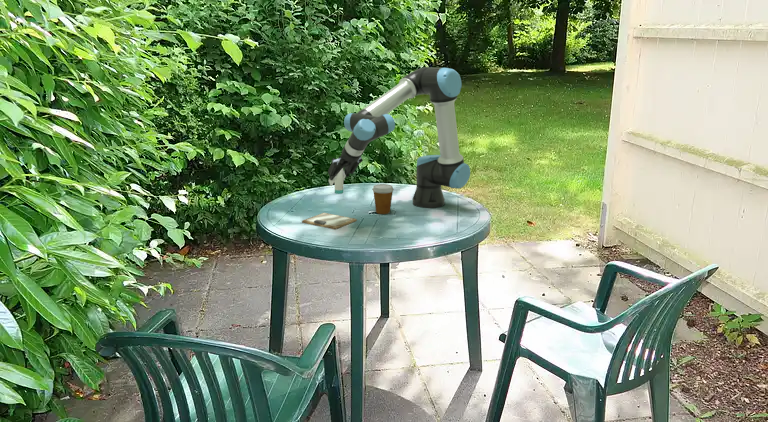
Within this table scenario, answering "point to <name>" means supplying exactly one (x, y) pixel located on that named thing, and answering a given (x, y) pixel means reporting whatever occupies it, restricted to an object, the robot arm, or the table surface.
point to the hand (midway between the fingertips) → (334, 182)
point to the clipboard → (329, 221)
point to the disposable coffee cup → (383, 198)
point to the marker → (339, 182)
